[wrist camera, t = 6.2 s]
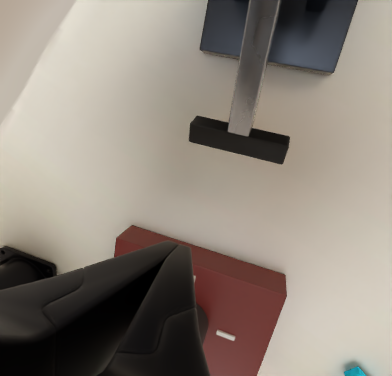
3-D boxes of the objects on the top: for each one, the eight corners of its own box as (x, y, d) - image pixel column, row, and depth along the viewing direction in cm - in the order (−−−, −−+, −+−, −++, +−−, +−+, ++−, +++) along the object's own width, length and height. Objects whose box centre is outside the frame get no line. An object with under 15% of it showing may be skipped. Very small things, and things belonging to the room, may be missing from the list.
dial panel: (119, 315, 26) (104, 337, 24) (131, 224, 23) (114, 238, 21) (251, 368, 24) (249, 398, 21) (285, 274, 21) (287, 297, 18)
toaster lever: (285, 148, 15) (281, 172, 13) (198, 128, 16) (183, 148, 14) (415, -237, 7) (448, -305, 5) (232, -231, 8) (210, -286, 6)
